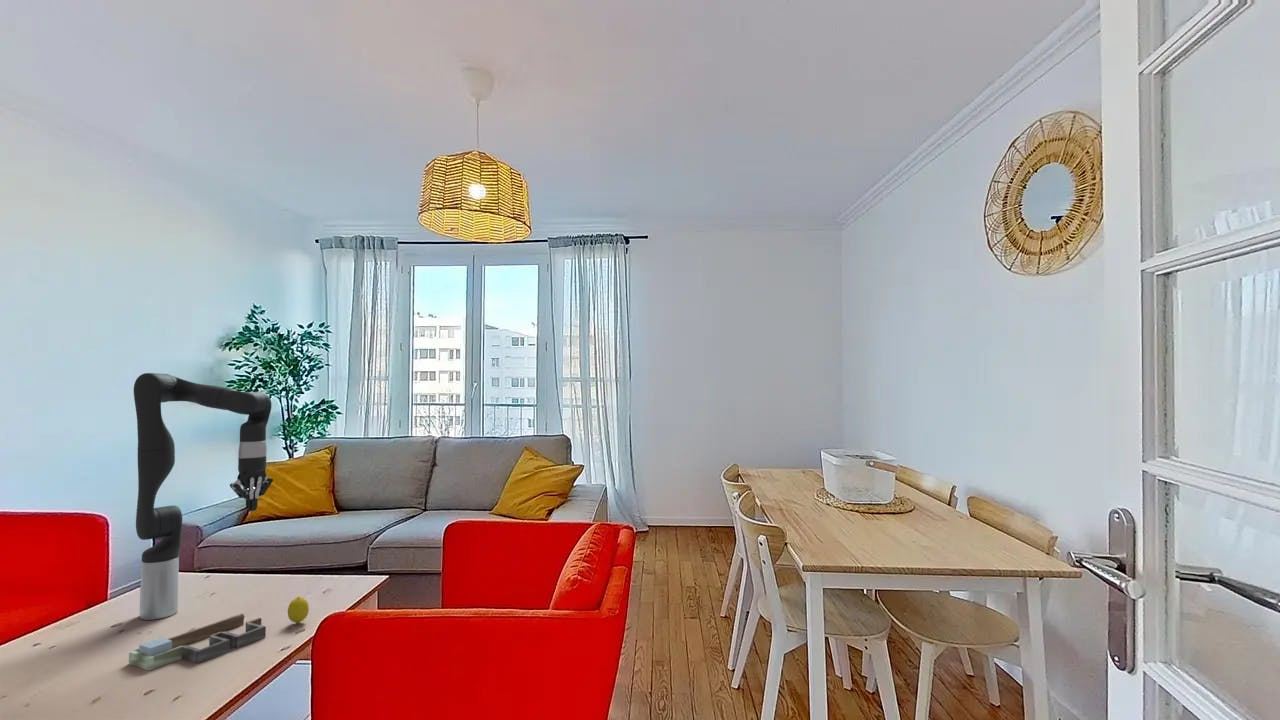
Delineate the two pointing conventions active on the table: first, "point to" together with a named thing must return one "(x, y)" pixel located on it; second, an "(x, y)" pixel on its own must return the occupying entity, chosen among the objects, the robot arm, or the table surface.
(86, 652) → the table surface
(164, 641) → the block
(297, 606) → the lemon
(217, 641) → the trap box
